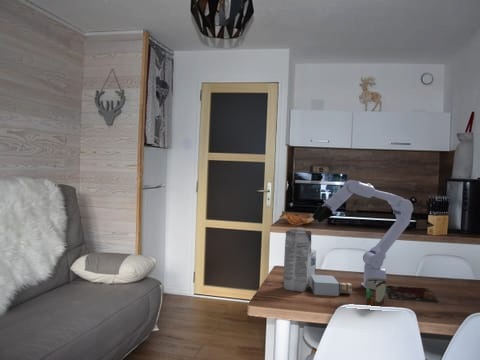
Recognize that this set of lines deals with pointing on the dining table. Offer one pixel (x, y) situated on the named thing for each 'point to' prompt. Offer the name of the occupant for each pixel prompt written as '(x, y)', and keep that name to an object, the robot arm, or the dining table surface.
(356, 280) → the dining table surface
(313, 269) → the syrup box
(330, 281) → the block
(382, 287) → the food container
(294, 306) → the dining table surface
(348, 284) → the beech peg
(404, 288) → the dining table surface
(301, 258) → the juice carton
